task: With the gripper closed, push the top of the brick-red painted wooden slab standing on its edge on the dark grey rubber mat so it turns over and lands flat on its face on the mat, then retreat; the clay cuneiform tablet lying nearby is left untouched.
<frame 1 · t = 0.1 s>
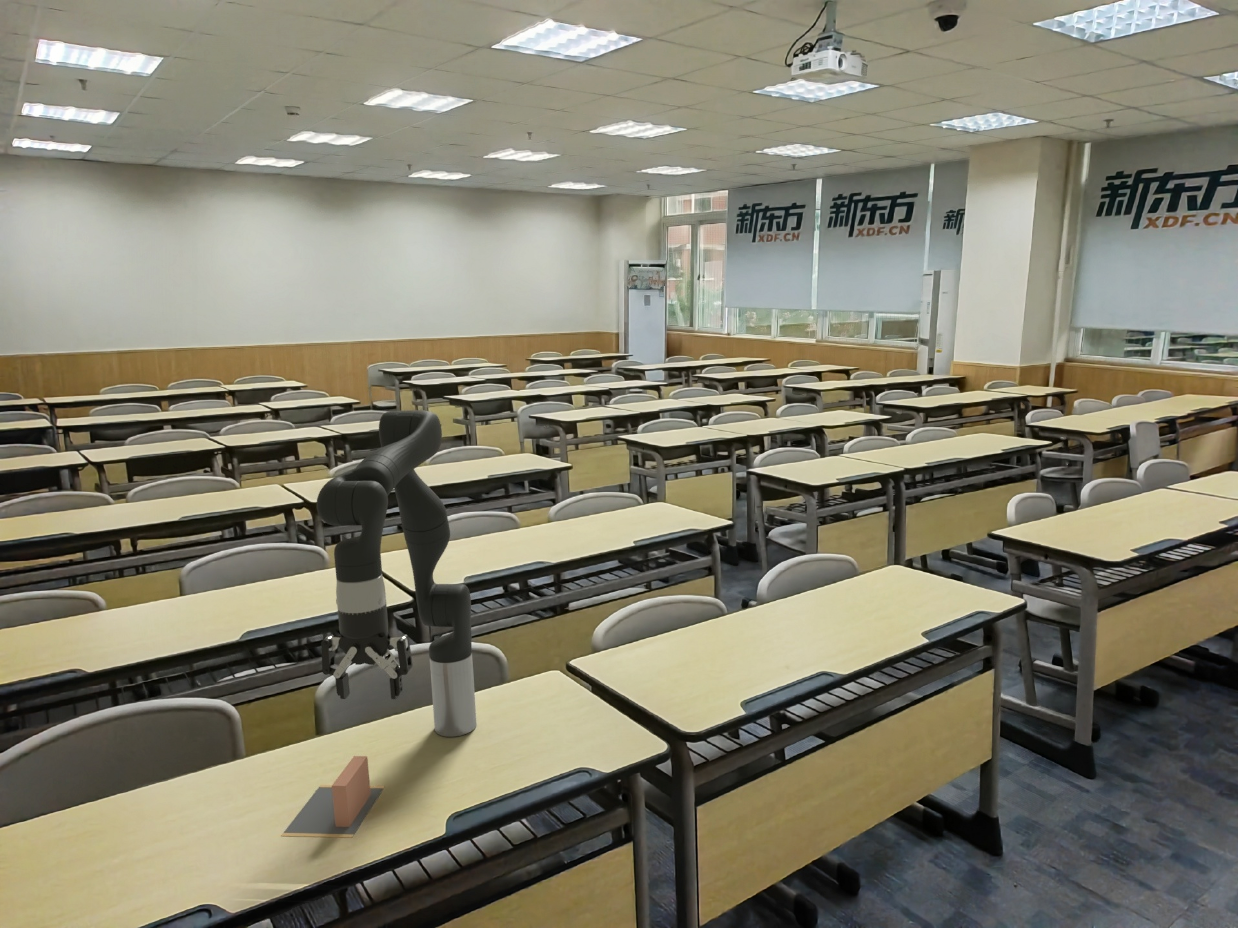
hand: (370, 697, 134), 29 cm above the table, fingers open, 8 cm apart
slab: (353, 809, 151), point 1 cm above the table, touching mat
mat: (335, 812, 151), on the table
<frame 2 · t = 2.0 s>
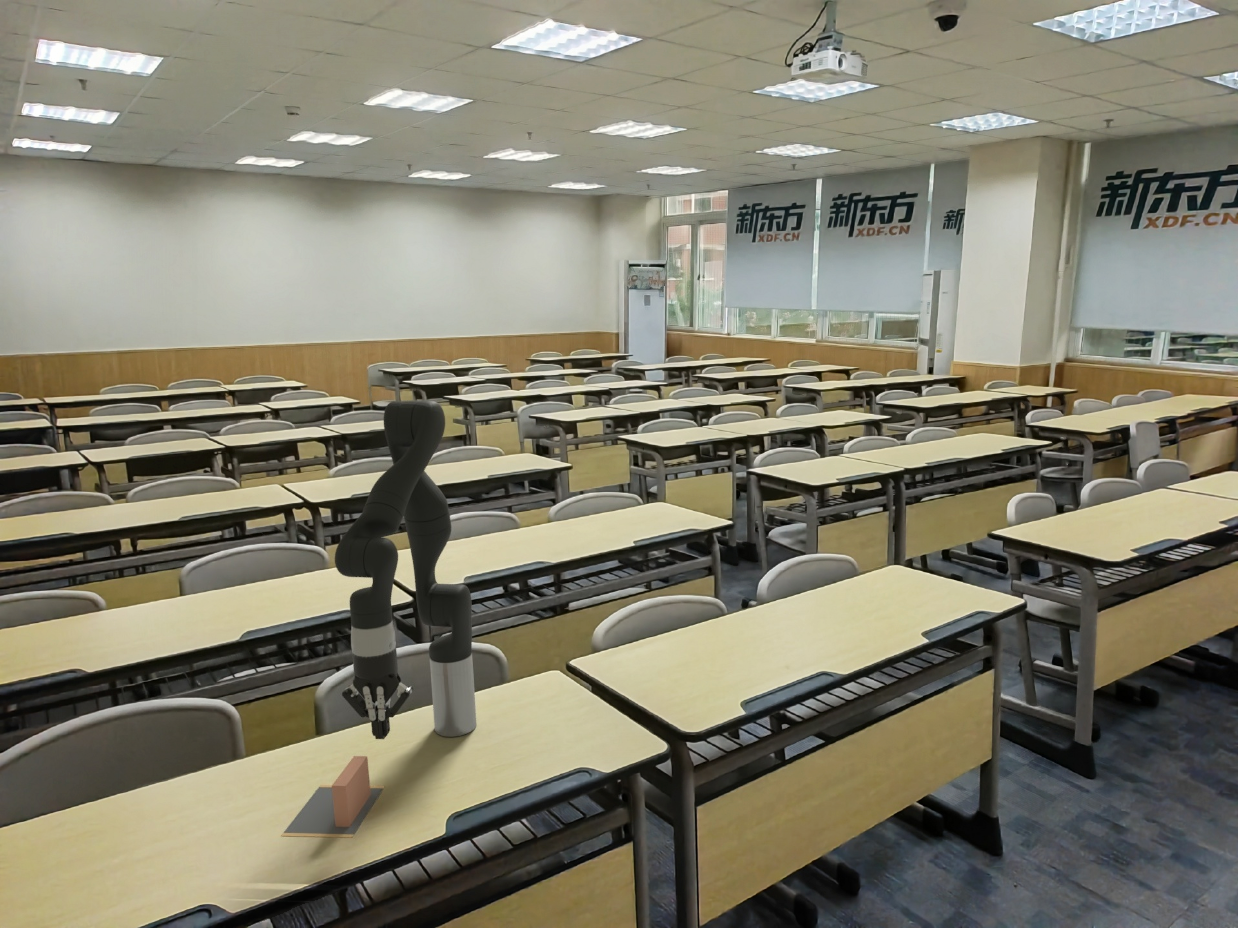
hand: (381, 736, 148), 15 cm above the table, fingers closed
nothing on the table moved.
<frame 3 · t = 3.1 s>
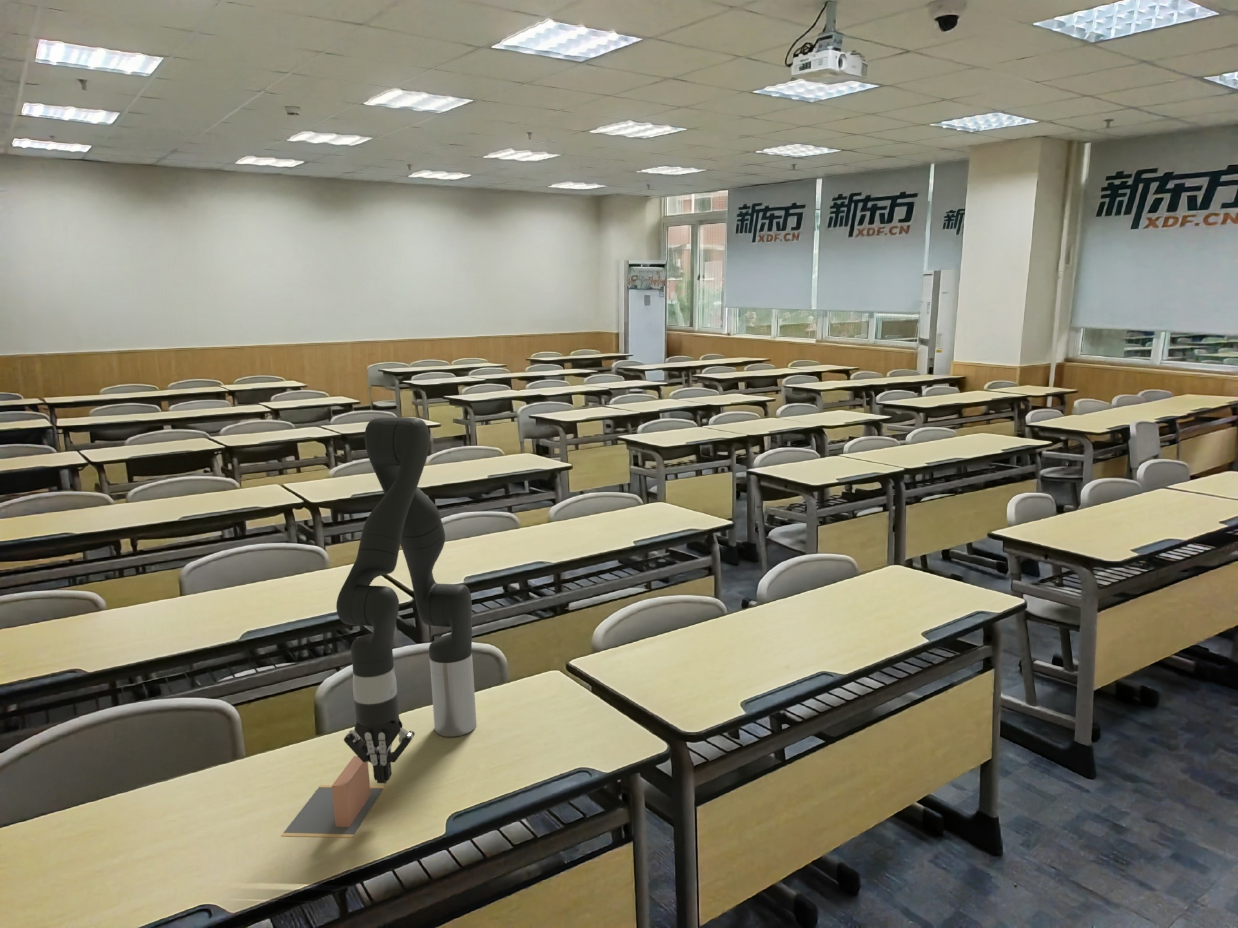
hand: (383, 780, 149), 7 cm above the table, fingers closed
nothing on the table moved.
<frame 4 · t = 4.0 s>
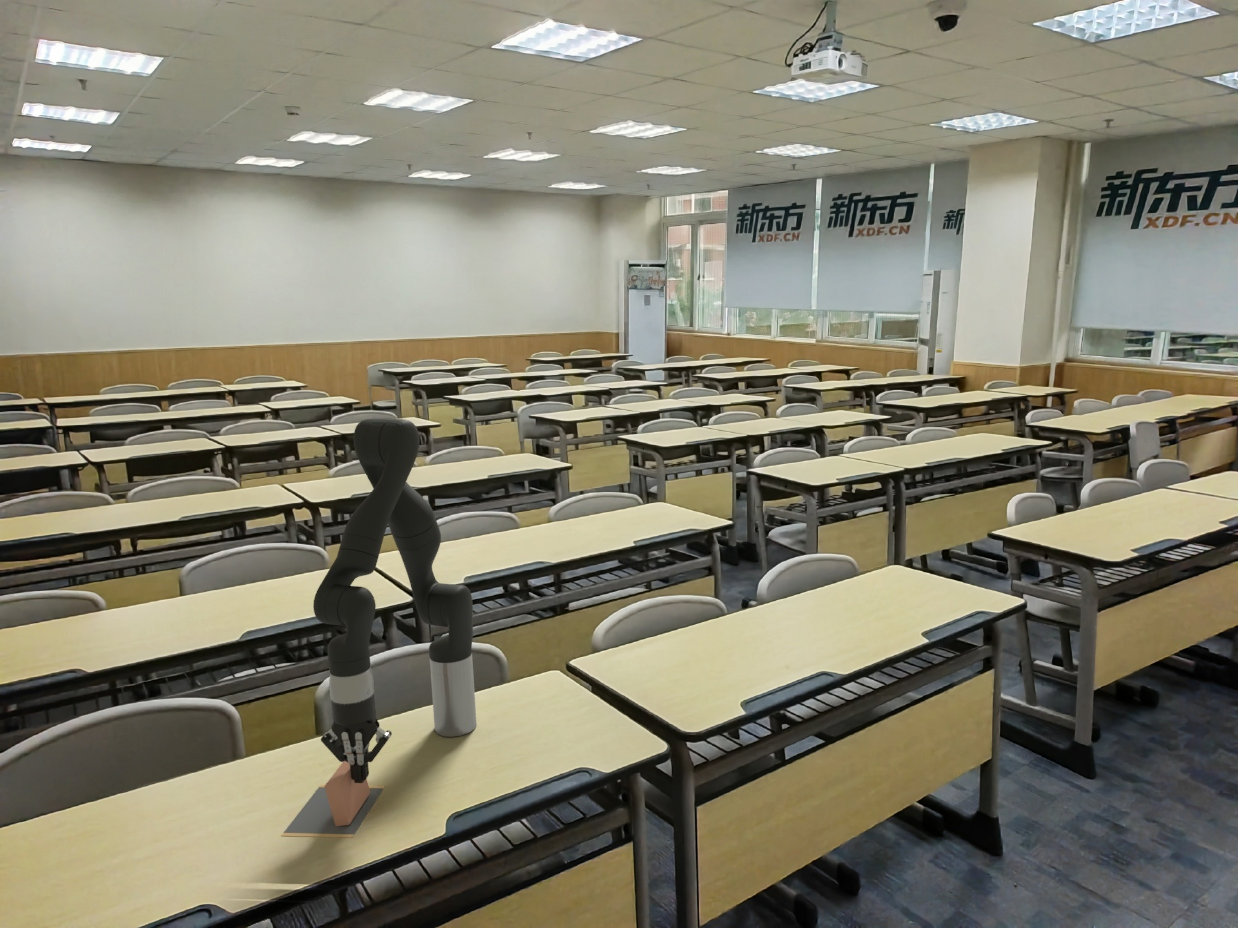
hand: (360, 780, 150), 7 cm above the table, fingers closed
slab: (353, 808, 151), point 1 cm above the table, tilted 10°, touching gripper, mat
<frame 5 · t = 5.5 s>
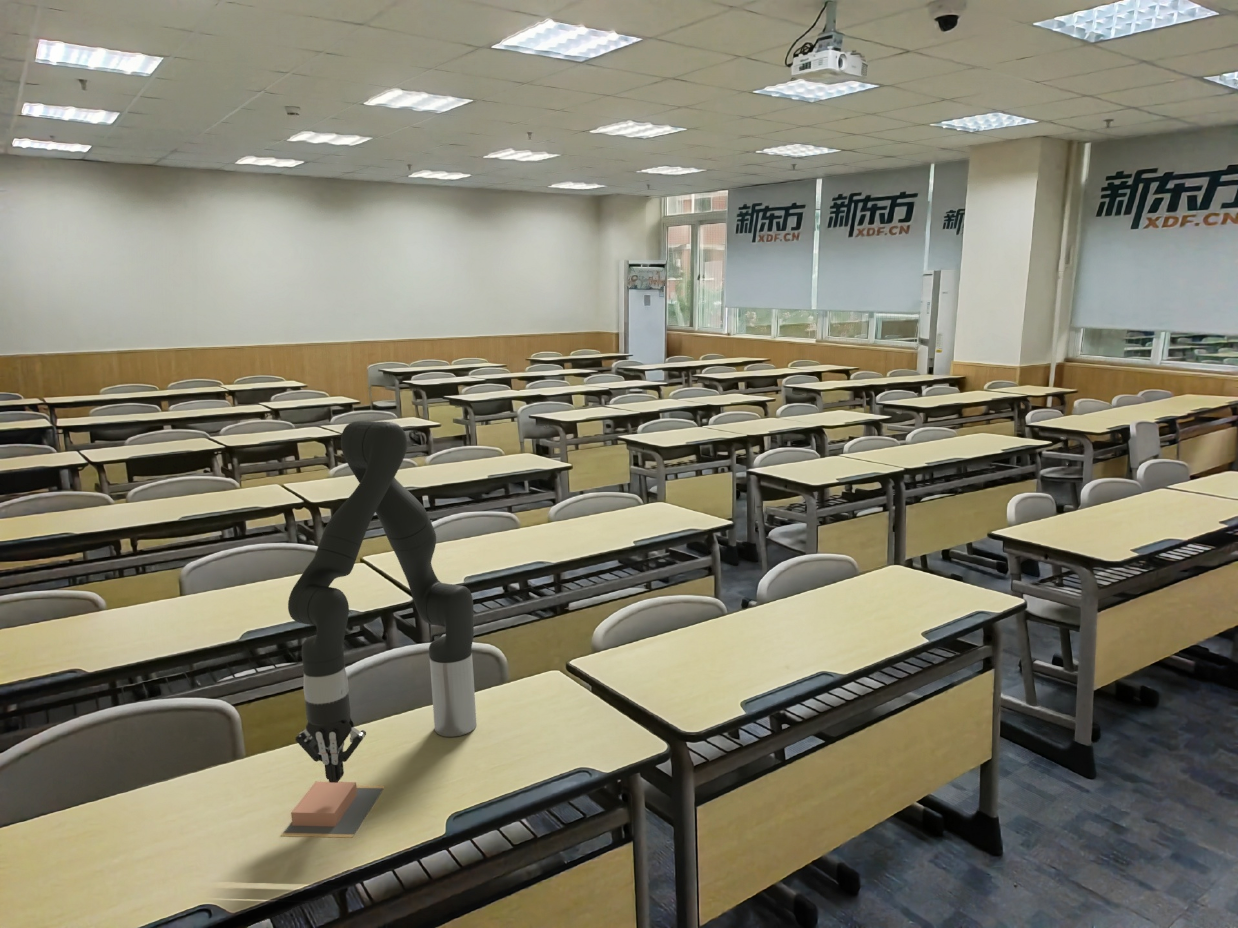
hand: (335, 780, 150), 7 cm above the table, fingers closed
slab: (346, 803, 151), point 2 cm above the table, tilted 90°, touching mat
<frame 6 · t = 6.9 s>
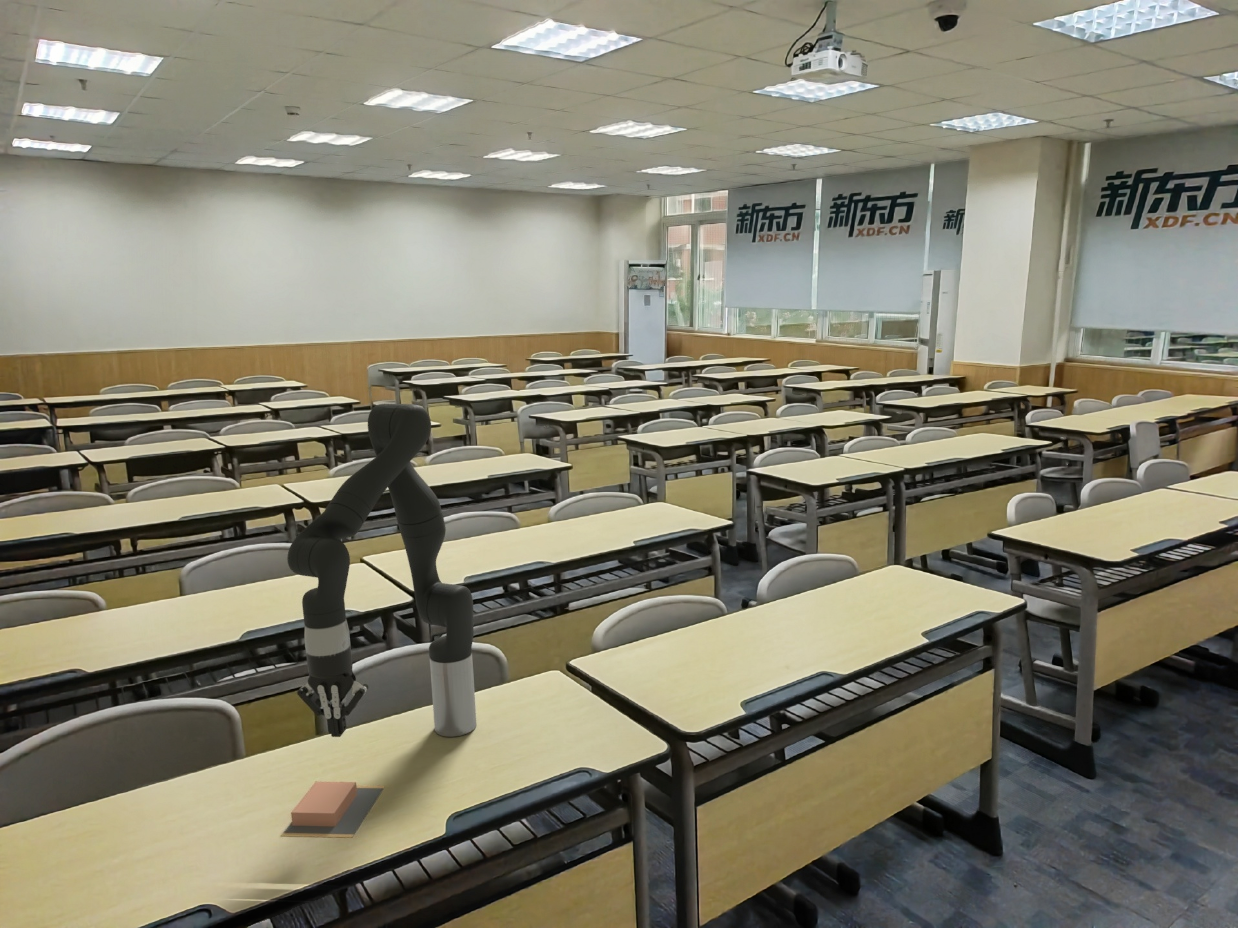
hand: (337, 734, 149), 16 cm above the table, fingers closed
nothing on the table moved.
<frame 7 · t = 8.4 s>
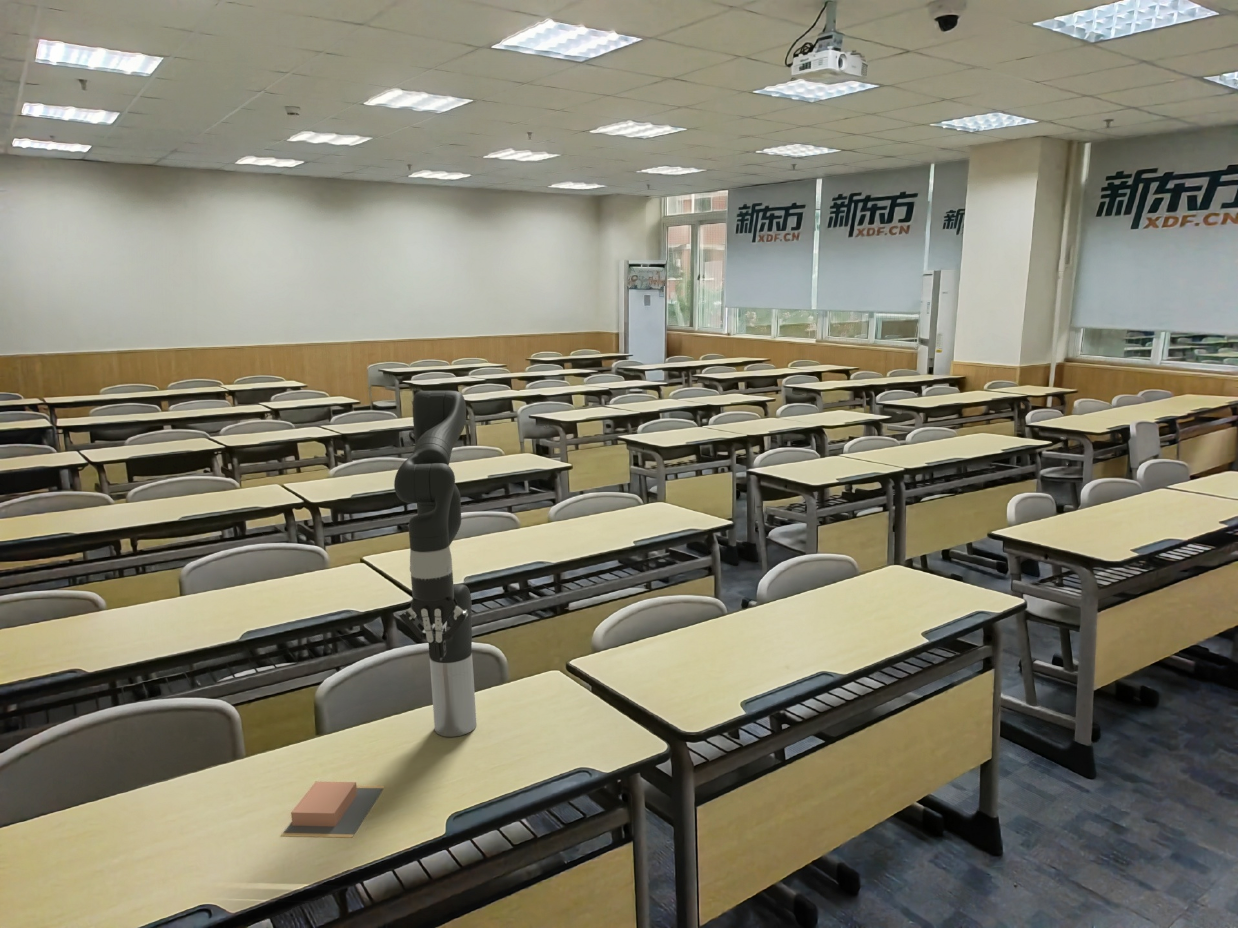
hand: (438, 658, 153), 27 cm above the table, fingers closed
nothing on the table moved.
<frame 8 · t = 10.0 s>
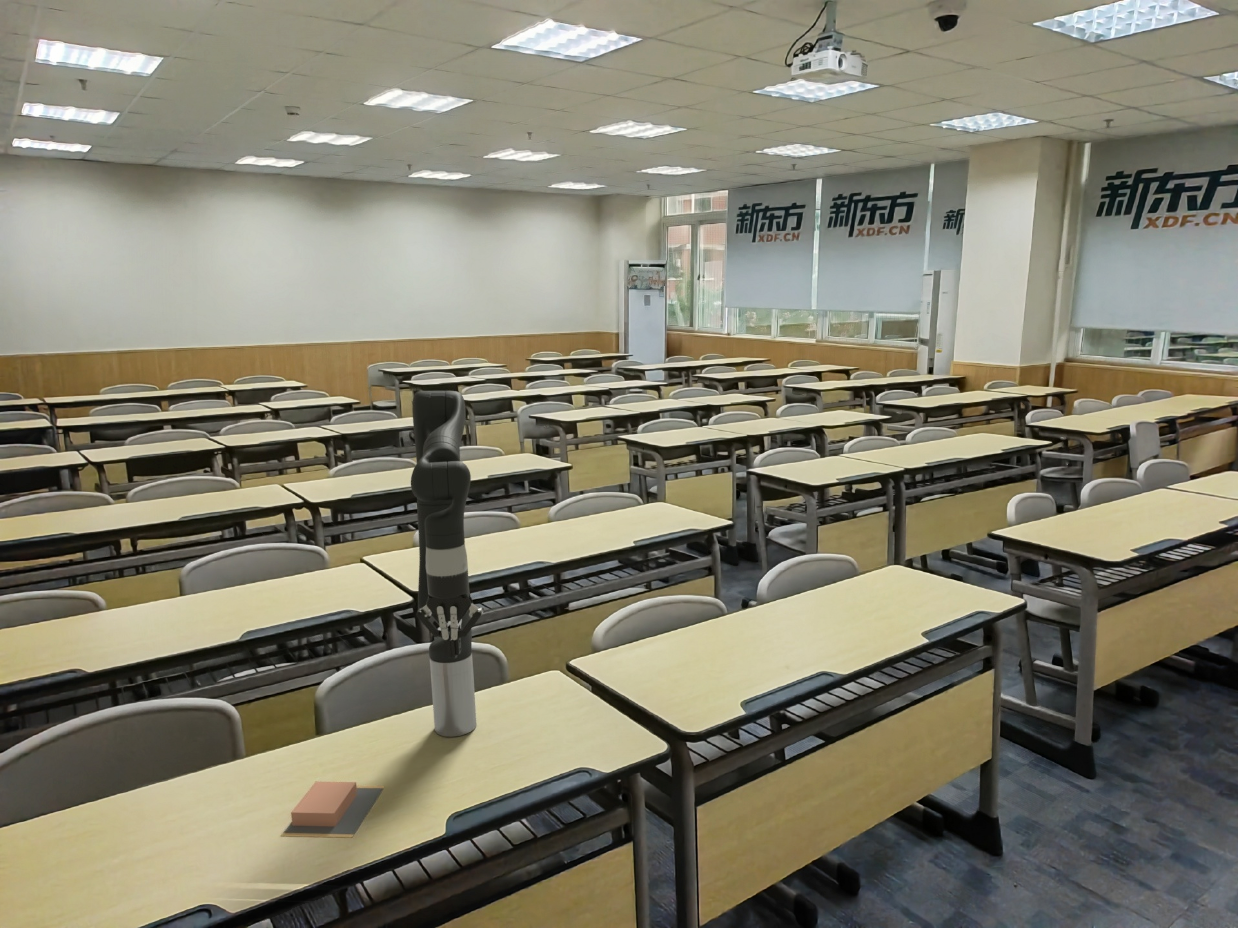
hand: (453, 656, 154), 27 cm above the table, fingers closed
nothing on the table moved.
at the end: slab tilted 90°; slab inside the target area (4.1 cm from its centre), point 1.9 cm above the table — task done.
